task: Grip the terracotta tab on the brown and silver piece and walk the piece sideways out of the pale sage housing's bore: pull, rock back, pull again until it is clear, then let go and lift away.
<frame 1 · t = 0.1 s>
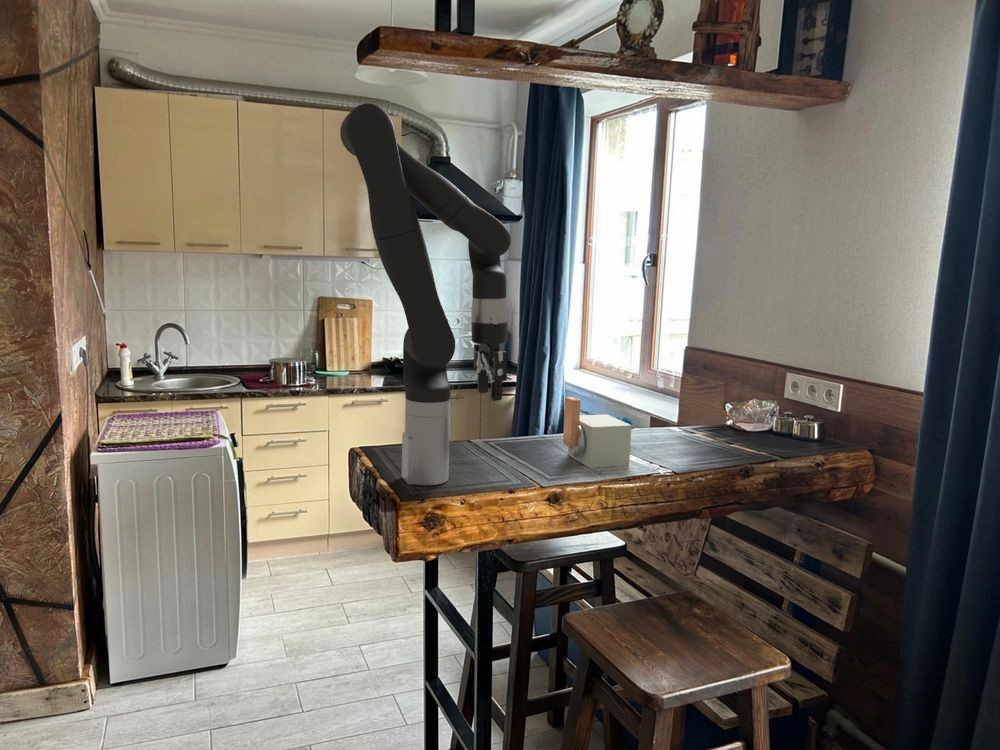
hand: (489, 396, 157), 17 cm above the bar counter, tool pointing down, fingers open, 8 cm apart
brown and silver piece: (585, 427, 172), point 8 cm above the bar counter, slide at 0.0 cm
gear: (611, 444, 191), on the bar counter
housing: (597, 459, 175), on the bar counter
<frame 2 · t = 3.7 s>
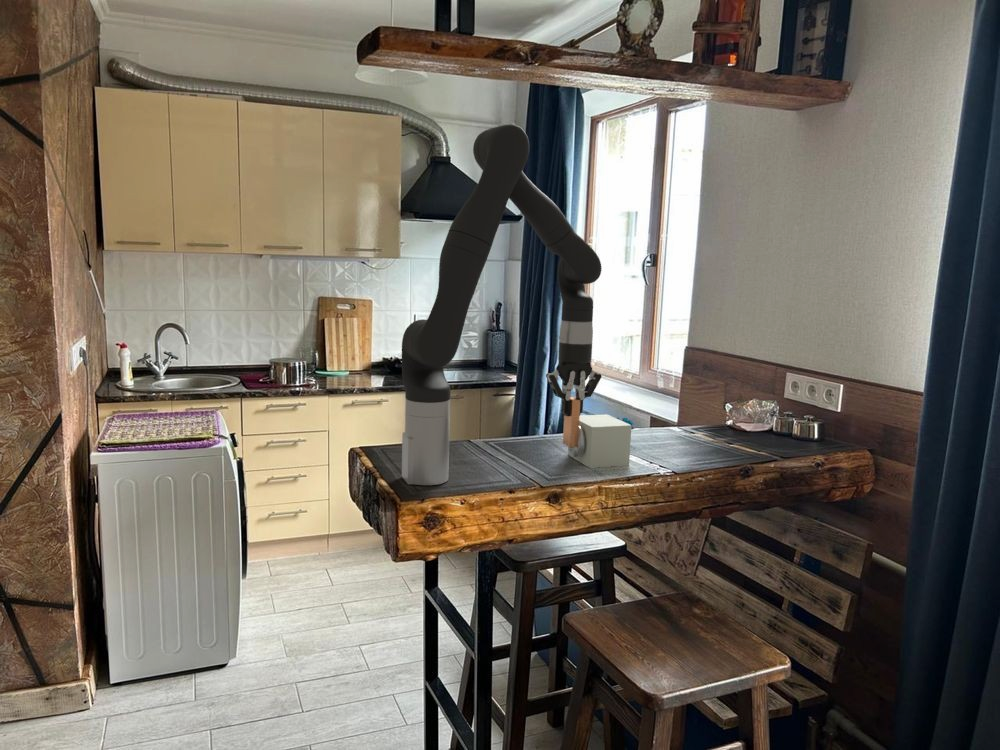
hand: (571, 415, 171), 11 cm above the bar counter, tool pointing down, fingers closed on brown and silver piece, 2 cm apart
brown and silver piece: (585, 427, 172), point 8 cm above the bar counter, slide at 0.0 cm, touching gripper
everything else where it was.
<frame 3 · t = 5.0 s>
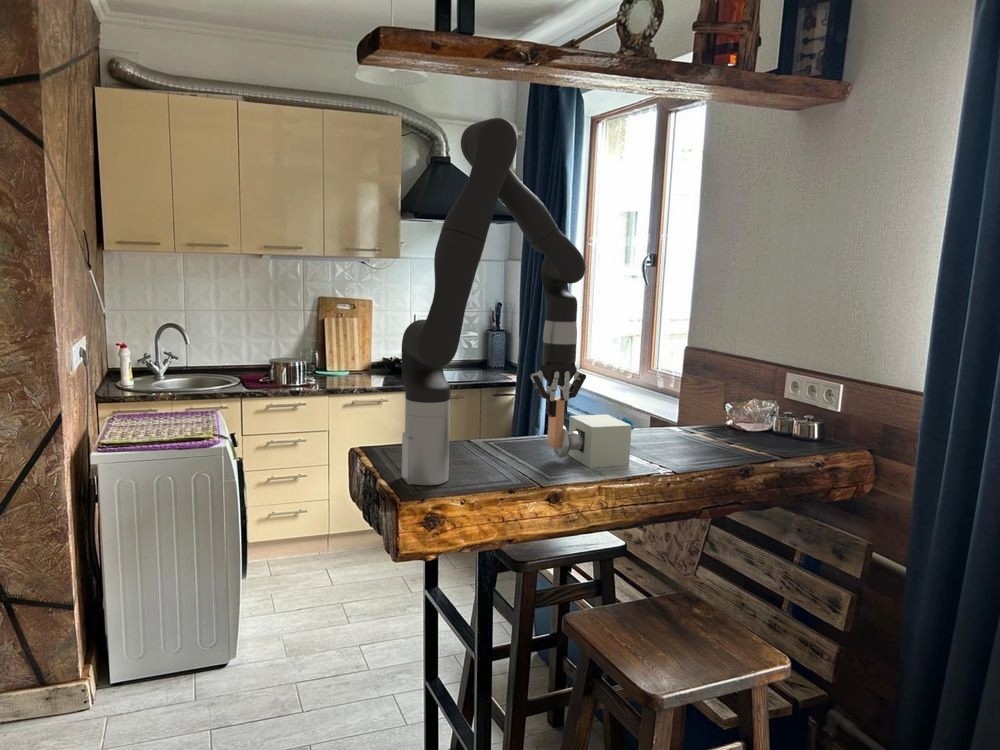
hand: (556, 415, 169), 11 cm above the bar counter, tool pointing down, fingers closed on brown and silver piece, 2 cm apart
brown and silver piece: (570, 427, 171), point 8 cm above the bar counter, slide at 3.9 cm, touching gripper
everything else where it was.
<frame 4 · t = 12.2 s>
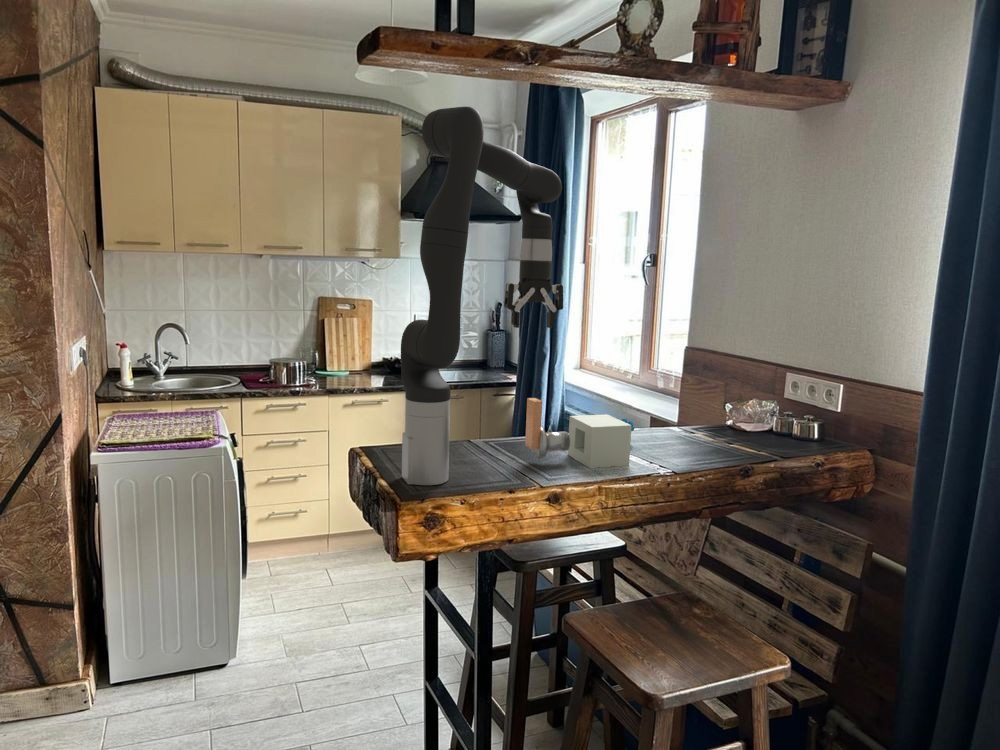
hand: (532, 327, 177), 30 cm above the bar counter, tool pointing down, fingers open, 8 cm apart
brown and silver piece: (548, 428, 169), point 8 cm above the bar counter, slide at 9.5 cm
at the end: brown and silver piece slide at 9.5 cm; the gripper is holding nothing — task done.
